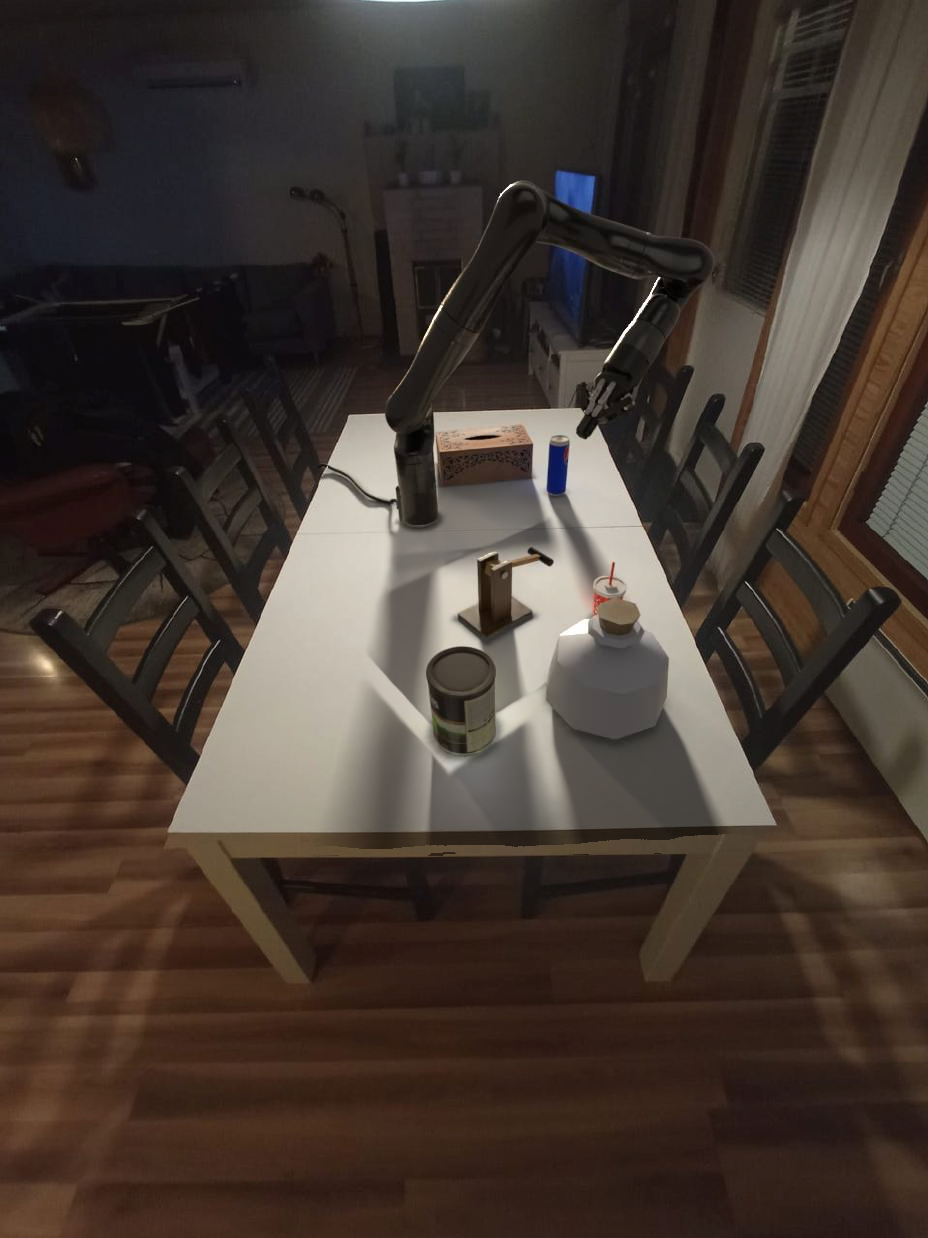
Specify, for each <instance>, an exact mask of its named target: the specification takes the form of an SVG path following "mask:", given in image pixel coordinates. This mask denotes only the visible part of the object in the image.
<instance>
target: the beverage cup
mask: <svg viewBox="0 0 928 1238" xmlns="http://www.w3.org/2000/svg"><path fill="white" fill-rule="evenodd" d="M615 566H616V562H615V561H612V563H611V569H610V575H602V576H599V577H597V578H595V580H594V581H593V586H592V588H593V589H592V590H593V604H592V605H593V606H592V617H594V616H596V615H597V614H598V611H597V605H599V604H601V603H604V602H606V601H608V600H610V599H613V598H615V597H616V598H619V599H622V600H624V595H625V594H626V592H627V589H628V585H627V583H626V582H625V580H623V579H622V578H620V577H618V576H615V575H614V571H615Z"/></svg>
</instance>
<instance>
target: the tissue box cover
mask: <svg viewBox="0 0 928 1238" xmlns="http://www.w3.org/2000/svg"><path fill="white" fill-rule="evenodd" d="M434 435H435V445H436V447H435V448H436V458H437V460H436V461H437V468H438V473H439V479H440V482H441V483H440V484H441V486H442V487H445V486H447V487H448V486H455V485H456V486H458V485H467V484H478V483H489V482H490V483H491V482H500V481H509V480H510V481H511V480H522V479H531V478H533V460H534V459H533V458H534V442H533V441H532V438H531V436H530V435H529V433H528V432H527V429H526V428H525V425H524V423H522V424H521V423H520V424H507V425H498V426H487V427H486V426H485V427H476V428H474V427H473V428H466V429H451V430H441V431H439V430H438V431H434Z"/></svg>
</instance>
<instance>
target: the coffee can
mask: <svg viewBox="0 0 928 1238" xmlns="http://www.w3.org/2000/svg"><path fill="white" fill-rule="evenodd" d="M493 659H494V658H492V657H491V656H490V655H489V654H488V653H487V652H485V651H483V650H481V649H479V648H476V647H473V646H465V645H463V646H461V645H459V646H452V647H448V648H446V649H445V648H444V649H443V650H441V651H439V652H438V653H436V654H435V655H434V656H433V657H432V658H431V659H430V660H429V661H428V663H427V666H426V669H425V677H426V681H427V687H428V696H429V703H430V705H429V706H430V710H431V712H430V714H431V721H432V734H433V739H434V741H435V743H436V745H437V746H438V747H439V748H440V749H441V750H442V751H444V752H445V753H447V754H449V755H451V756H455V757H456V756H457V757H472V756H475V755H479V754H480V753H482V752H484V751H485V750H487V749H488V748H489V747H490V746H491V745H492V743H493V742H494V740H495V738H496V734H497V728H496V727H497V726H496V677H497V666H496V663H495V661H494V660H493Z"/></svg>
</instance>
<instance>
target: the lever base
mask: <svg viewBox="0 0 928 1238" xmlns="http://www.w3.org/2000/svg"><path fill="white" fill-rule="evenodd" d="M495 559H498V560H499V552H498V551H497V550H494V551H492V552H489V553H487V554H485V555H482V556H481V557H479V558H477V559H476V560H477V561H476V564H477V566H476V567H477V568H476V569H477V600H478V603H476V604H474V605H471V606H469V607H467V608H466V609H463V610H462V611H460V612H458V613H457V616H458V617H459V618H461V619H462V620H463V621H464V622H465V623H467V625H469V626H470V627H471V628H473V629H474V630H475V631H476V632H477V633H478V634H480V635H481V636H482V637H483V638H485V639H487V638H489V637H490V636H492V635H494V634H496V633H498V632H499V631H502V630H503V629H505V628H507V627H509V626H511V625H512V624H514V623H516V622H518V621H520V620H522V619H524V618H525V617H527V616H529V615H531V614H533V610H532V609H530V608H529V607H528V606H526V605H525V604H523V603H522V602H521V601H519V600H518V599H517V598H515V597H514V596H513V568H512V561H511V560H510V559H508V560H505V561H502V562H503V563H501V564H499V565H497V566H495V567H493V568H491V577H490V576H488V575H487V574H485V567H486V562H487V561H491V560H495Z"/></svg>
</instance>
